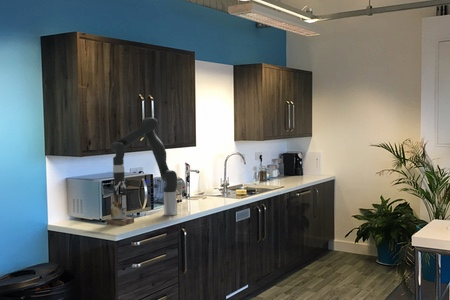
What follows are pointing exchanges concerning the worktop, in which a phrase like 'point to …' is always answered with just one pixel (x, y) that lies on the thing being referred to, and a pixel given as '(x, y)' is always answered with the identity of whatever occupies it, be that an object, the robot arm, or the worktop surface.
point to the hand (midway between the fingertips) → (119, 194)
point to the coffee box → (118, 207)
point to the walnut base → (120, 221)
